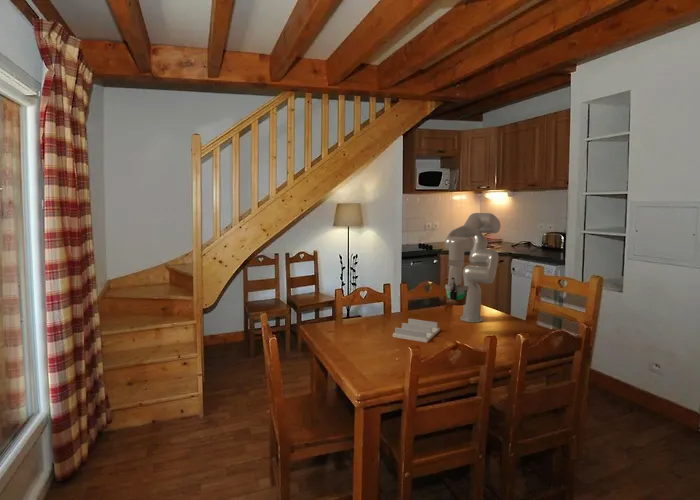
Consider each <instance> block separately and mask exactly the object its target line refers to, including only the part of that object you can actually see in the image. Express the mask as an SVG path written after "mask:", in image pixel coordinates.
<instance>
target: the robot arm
mask: <svg viewBox="0 0 700 500" xmlns="http://www.w3.org/2000/svg"><path fill="white" fill-rule="evenodd" d="M500 229H501V221H500V219H499V218H498V217H497V216H496V215H494V214H493V213H490V212H489V213H488V212H473V213H471V214H469V216H468V218H467V219H466V221H465V223H464V225H461V226H458V227H456V228H454V229H453V230H451V231H450V232H449V233H448V235H447V236H446V238H445V241H444V246H445V249H446V251H447V250H448V268H449V269H448V279H447V285H449V286H450V287H451V288H450V299H453V300H456V299H457V292H456V289H457V286H461V284H462V282H463V286H468V287H469V290H468V291H467V298H466V304H465V305H462V307H463V308H462V310H463V311H462V315H460V316H459V318H460V320H461V321H463V322H467V323H481V322H483V321H484V318H483V317H482V316H481V312H482V311H481V309H482V307H481V306H482V288H481V286H480V284H487V285H488V284H492V283H494V281H495V278H496V273H497V268H498V265H499V253H498V251H497V250H495V249H491V248H488V244H489V243H488V240H487V238H486V237H485V236H484V234H497V233H499V232H500ZM465 252H466V253H468V252H469V257H468V261H469V262H470V264H469V265H466V266H465ZM479 283H480V284H479ZM454 285H456V286H454ZM454 287H455V288H454Z"/></svg>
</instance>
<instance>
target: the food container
mask: <svg viewBox="0 0 700 500" xmlns="http://www.w3.org/2000/svg"><path fill="white" fill-rule="evenodd" d="M454 286H456V285H454ZM450 288H451V287H450V286H449V285H448V282H447V283H446V284H445V285H444V289H445V291H446V303H447V304H448V305H451V306H463V305H465V304H466V298H467V291H468V290H469V287H468V286H464V285H463V286H462V285H460V286H457V289H456V292H457V299H456V300H453V299H450ZM454 288H455V287H454Z"/></svg>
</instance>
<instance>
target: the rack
mask: <svg viewBox="0 0 700 500" xmlns="http://www.w3.org/2000/svg"><path fill="white" fill-rule="evenodd" d="M440 331H441V328H440V327H439V325H438V322H436V321H430V320H424V319H423V320H421V319H415V318H408V320H407V322H402V323H401V327H395V328H394V332H393V333H392V337H393V338H398V339H405V340H409V341H416V342H422V343H428V342H429V341H430V340H431V339H433V338H434V337H435V336H436V334H438V333H439V332H440Z"/></svg>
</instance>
